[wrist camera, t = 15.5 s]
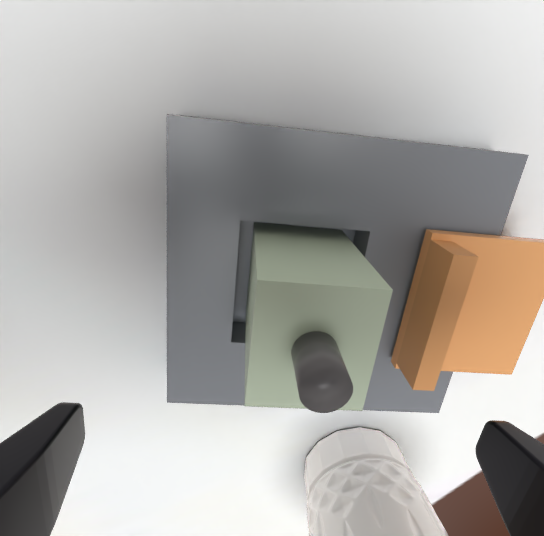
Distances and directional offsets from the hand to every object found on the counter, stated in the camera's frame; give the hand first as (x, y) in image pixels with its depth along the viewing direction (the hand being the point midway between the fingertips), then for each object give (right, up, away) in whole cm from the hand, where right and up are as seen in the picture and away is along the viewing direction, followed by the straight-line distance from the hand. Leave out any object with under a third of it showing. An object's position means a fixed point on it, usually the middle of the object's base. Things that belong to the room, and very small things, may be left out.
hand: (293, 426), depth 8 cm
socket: (+2, +3, +12) cm, 12 cm away
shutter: (+9, +2, +10) cm, 13 cm away
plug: (+1, +3, +11) cm, 11 cm away
